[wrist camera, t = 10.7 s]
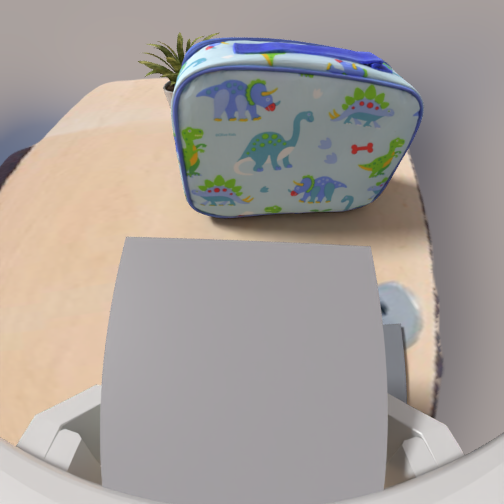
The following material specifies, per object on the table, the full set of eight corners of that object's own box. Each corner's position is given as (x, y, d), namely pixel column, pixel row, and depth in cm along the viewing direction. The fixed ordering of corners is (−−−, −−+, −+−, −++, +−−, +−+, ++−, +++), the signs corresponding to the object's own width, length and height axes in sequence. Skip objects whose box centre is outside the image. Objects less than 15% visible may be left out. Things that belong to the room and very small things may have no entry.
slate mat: (401, 458, 20) (405, 460, 19) (324, 475, 20) (327, 477, 19) (396, 326, 28) (400, 323, 27) (324, 329, 28) (326, 327, 27)
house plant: (197, 86, 52) (192, 20, 38) (241, 106, 48) (243, 28, 34) (140, 112, 47) (126, 40, 33) (179, 137, 43) (167, 48, 28)
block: (279, 440, 12) (376, 534, 2) (197, 438, 12) (108, 533, 2) (279, 346, 14) (370, 246, 5) (200, 344, 14) (125, 236, 4)
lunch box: (356, 163, 41) (398, 48, 23) (381, 216, 36) (450, 91, 18) (189, 168, 39) (171, 31, 21) (188, 229, 34) (154, 65, 15)
